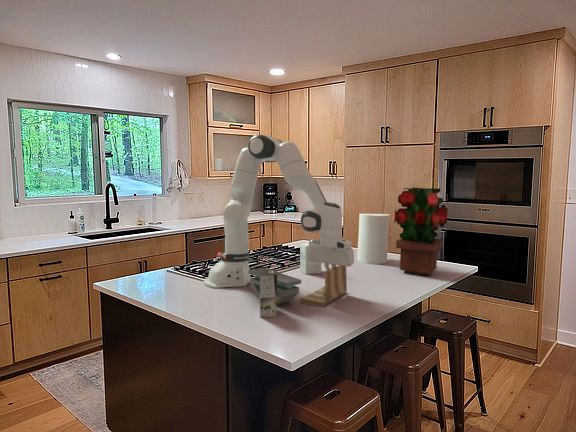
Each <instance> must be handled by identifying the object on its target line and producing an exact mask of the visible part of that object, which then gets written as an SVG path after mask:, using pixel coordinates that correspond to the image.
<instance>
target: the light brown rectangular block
mask: <svg viewBox="0 0 576 432" xmlns="http://www.w3.org/2000/svg"><path fill="white" fill-rule="evenodd" d="M346 293H347V291H345V292H343V293H342V294H340V295H338V296H337V297H335V298H333V299H331V300H330V301H328V302H327V301H326V299H325V285H324V286H322V287H321V288H319V289H317V290H315V291H313V292H310V293H309V294H307V295H305V296H304V297H301V298H300V299H299V300H300V301H299V302H300V303H301V304H305V305H310V306H314V307H315V306H316V307H320V308H323V307H324V306H326V305H328V304H330V303H331V302H332V301H333V302H334V301H335V300H337V299H338V298H340V297H342V296H343V295H345V294H346Z"/></svg>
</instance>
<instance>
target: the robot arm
mask: <svg viewBox="0 0 576 432" xmlns="http://www.w3.org/2000/svg"><path fill="white" fill-rule="evenodd" d="M247 144H248V145H247V147H244V148H241V151H240V152H239V154H238V158H237V160H236V163H235V166H234V171H233V175H232V180H231V184H230V193H229V200H228V202H227V204H226V205H225V206H224V207H223V212H222V215H223V216H222V217H223V228H224V230H223V231H224V235H225V236H224V247H225V248H224V252H218V253H217V256H218V257H219V258H220V259H221V260H220V261H218V262H217V263H216V264H214V265H213V266H212V267H211V268H210V269H209V272H208V277H207V278H204V279H203V284H204V285H205V286H207V287H209V288H213V289H216V288H217V289H218V288H233V287H235V288H237V287H245V286H247V284H250V278H252V277H251V274H249V270H250V265H249V263H250V251H249V243H250V242H249V241H250V239H249V238H250V237H249V236H250V235H249V227H248V226H249V225H248V224H249V223H248V221H249V220H248V218H249V216H250V214H251V211H252V205H253V200H254V194H255V189H256V185H257V181H258V176H259V171H260V167H261V165H262V164H263V163H264V162H265V163H276V162H277V164H278V167H279V168H280V172H281V174H282V176H283V178H284V180H285V182H286V183H287V184H289V185H290V186H293V187H294V188H297V189H300V190H301V191H303V192H304V193H305V194H307V196H308V198H309V200H310V202H311V204H312V207H313V208H312V209H308V210H306V211H304V212H303V213H302V214H301V217H300V225H301V227H302V229H303V230H304V231H306V232H308V233H314V232H315V233H316V232H320V233H319V234H320V238H319V239H311V240H310V241H309V242H308V243H309V251H308V260H309V261H314V262H321V264H322V263H323V264H324V268H325V271H327V270H329V269H331V268H334V267H336V266H338V265H342V266H346V267H352V266H353V265H354V263H355V253H354V250H353V241H351V240H348V239H346V238H344V237H343V236H342V235H343V234H342V225H343V213H342V208H341V206H340V205H339V204H337V203H334V202H328V201H327V200H326V198H325V196H324V194H323V191H322V189H321V188H320V186H319V184H318V182H317V181H316V179H315V177H314V176H313V175H312V174H311V172H310V171H309V168H308V166H307V164H306V162H305V159H304V156H303V155H302V153H301V151H300V149H299V148H298V146H297V145H296V144H295V143H294V142H293V141H284V142H283V141H282V140H280V139H278V138H275V137H274V136H270V135H265V134H264V135H263V134H256V135H253V136H252V137H251V138H250V140H249V142H248V143H247ZM330 267H331V268H330Z"/></svg>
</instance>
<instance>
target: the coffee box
mask: <svg viewBox="0 0 576 432" xmlns="http://www.w3.org/2000/svg"><path fill="white" fill-rule="evenodd" d="M277 306H278V305H277V269H274V268H273V269H271V268H266V269H265V270H264V269H261V270H260V299H259V317H260V318H276V317H277V311H278V310H277Z"/></svg>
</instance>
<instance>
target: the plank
mask: <svg viewBox="0 0 576 432" xmlns="http://www.w3.org/2000/svg"><path fill="white" fill-rule="evenodd" d="M347 282H348V281H347V266H342V265H336V267H334V268H332V267H331V268H330V269H329V270H324V286H325V299H326V301H327V302H328V301H330V300H331V299H333V298H335V297H337V296H338V295H340V294H342V293H343V292H345V291H346V292H347V291H348V290H347V289H348V285H347Z"/></svg>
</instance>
